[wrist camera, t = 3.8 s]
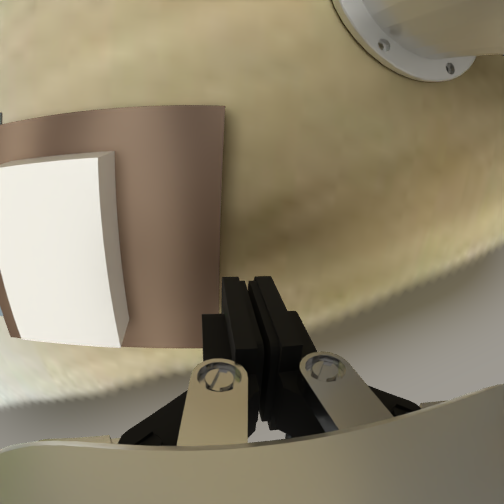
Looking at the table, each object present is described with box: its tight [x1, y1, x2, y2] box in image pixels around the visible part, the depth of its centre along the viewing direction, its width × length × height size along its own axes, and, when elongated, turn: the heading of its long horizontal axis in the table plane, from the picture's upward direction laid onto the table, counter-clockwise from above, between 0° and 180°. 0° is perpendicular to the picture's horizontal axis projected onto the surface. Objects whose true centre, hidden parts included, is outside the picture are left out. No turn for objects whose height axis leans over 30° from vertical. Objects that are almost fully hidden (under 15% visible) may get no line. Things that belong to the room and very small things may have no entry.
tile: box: [0, 151, 129, 348], centre depth 14 cm, size 6×9×2 cm, turn 177°
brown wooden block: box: [0, 105, 225, 348], centre depth 17 cm, size 14×13×4 cm
